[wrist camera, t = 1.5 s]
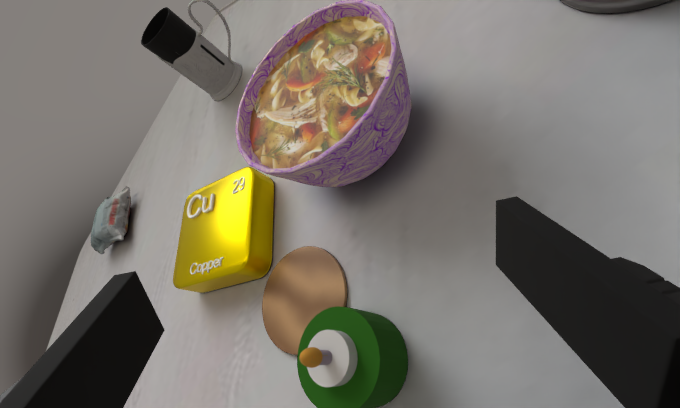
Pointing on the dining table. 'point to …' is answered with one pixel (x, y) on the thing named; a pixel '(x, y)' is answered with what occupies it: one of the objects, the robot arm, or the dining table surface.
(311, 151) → the bowl of food
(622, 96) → the dining table surface
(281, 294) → the cork trivet
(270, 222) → the element tile
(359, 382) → the candle
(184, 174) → the dining table surface
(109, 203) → the packaged food
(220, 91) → the glass holder
